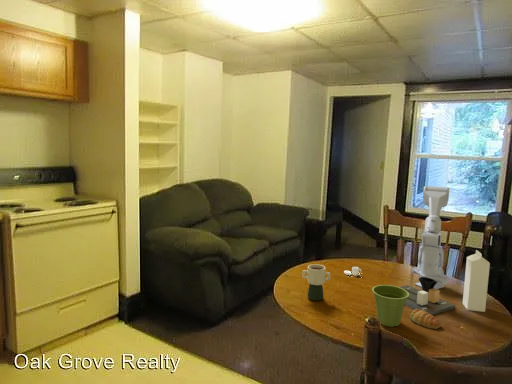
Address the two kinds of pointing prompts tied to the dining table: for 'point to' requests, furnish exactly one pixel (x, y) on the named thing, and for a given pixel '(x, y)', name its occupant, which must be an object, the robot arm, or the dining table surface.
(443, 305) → the console
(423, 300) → the fader
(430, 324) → the pastry
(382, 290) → the plant pot
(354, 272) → the teacup and saucer
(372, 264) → the dining table surface
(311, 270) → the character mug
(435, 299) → the block
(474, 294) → the milk
